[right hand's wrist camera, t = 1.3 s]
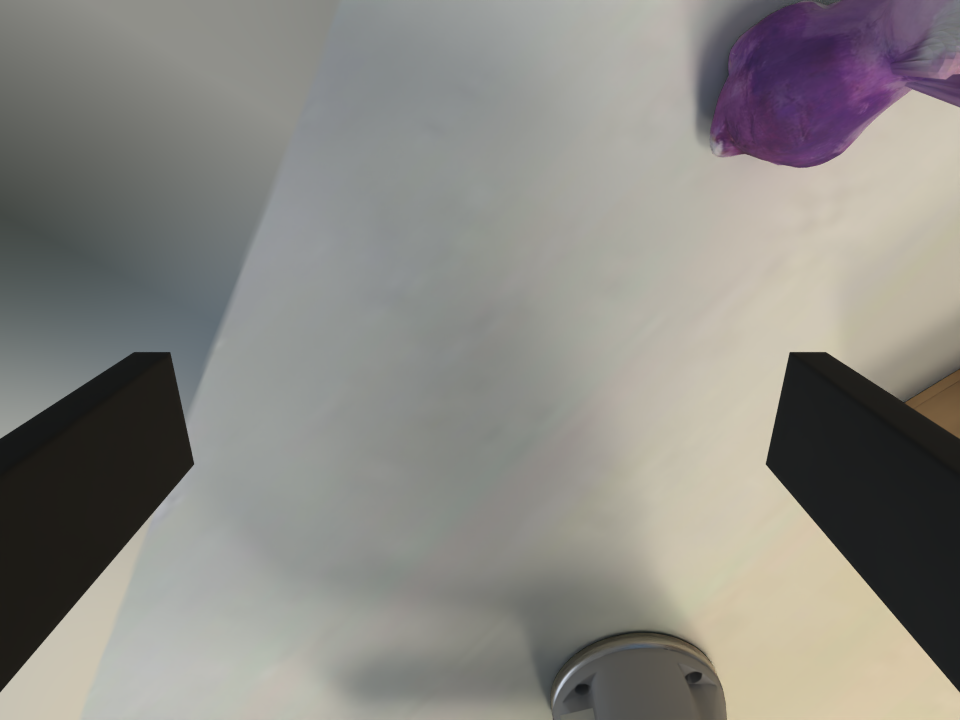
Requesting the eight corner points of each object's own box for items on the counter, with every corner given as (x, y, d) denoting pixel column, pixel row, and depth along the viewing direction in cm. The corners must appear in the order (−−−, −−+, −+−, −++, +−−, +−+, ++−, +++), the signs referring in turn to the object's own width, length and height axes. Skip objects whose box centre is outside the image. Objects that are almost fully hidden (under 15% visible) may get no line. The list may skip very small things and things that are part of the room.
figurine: (902, -25, 32) (1231, -141, 18) (844, 169, 36) (1077, 199, 22) (733, -40, 31) (932, -169, 18) (693, 157, 35) (831, 180, 21)
